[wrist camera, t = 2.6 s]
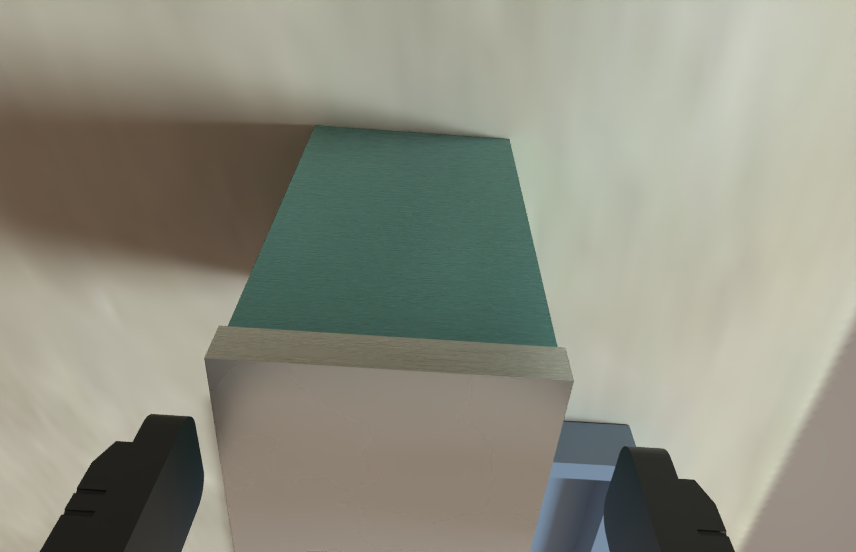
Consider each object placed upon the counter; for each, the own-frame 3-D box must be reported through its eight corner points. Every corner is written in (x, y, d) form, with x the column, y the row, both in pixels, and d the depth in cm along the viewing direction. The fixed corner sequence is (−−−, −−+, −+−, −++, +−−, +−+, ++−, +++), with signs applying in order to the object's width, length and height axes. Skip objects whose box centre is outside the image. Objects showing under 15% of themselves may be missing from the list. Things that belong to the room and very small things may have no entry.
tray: (285, 606, 32) (277, 648, 30) (267, 403, 25) (254, 445, 23) (563, 620, 32) (570, 663, 31) (629, 425, 25) (642, 467, 23)
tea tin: (316, 288, 22) (237, 574, 13) (311, 121, 18) (204, 358, 10) (489, 299, 22) (520, 589, 13) (513, 136, 19) (574, 381, 10)
